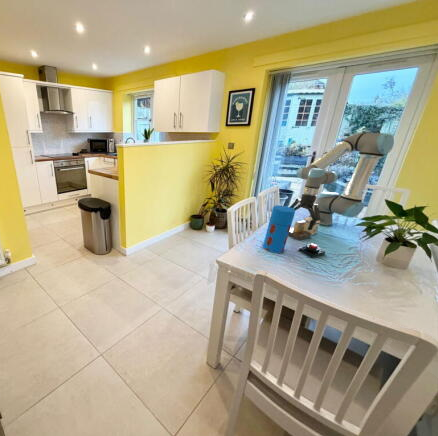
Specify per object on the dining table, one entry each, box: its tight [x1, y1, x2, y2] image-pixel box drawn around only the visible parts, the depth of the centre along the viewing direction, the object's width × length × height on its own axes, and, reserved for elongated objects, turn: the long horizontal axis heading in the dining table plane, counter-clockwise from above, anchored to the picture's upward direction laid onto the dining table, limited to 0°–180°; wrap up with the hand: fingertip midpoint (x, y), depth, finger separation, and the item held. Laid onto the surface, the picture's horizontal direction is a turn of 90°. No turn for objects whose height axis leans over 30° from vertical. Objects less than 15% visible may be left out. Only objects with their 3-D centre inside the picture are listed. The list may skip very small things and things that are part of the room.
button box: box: [298, 243, 326, 259], centre depth 129 cm, size 10×8×4 cm
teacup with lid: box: [303, 216, 320, 236], centre depth 154 cm, size 12×9×12 cm
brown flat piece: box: [288, 227, 312, 241], centre depth 150 cm, size 12×11×3 cm
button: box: [309, 242, 319, 249], centre depth 128 cm, size 4×4×2 cm
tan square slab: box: [293, 220, 306, 233], centre depth 148 cm, size 7×2×7 cm, turn 111°
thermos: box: [262, 204, 296, 254], centre depth 128 cm, size 11×11×25 cm
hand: (299, 225), depth 147 cm, fingers open, 13 cm apart
